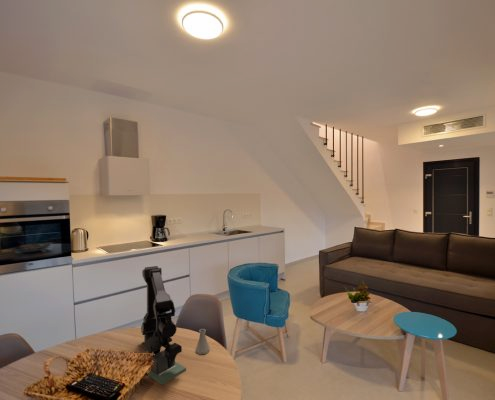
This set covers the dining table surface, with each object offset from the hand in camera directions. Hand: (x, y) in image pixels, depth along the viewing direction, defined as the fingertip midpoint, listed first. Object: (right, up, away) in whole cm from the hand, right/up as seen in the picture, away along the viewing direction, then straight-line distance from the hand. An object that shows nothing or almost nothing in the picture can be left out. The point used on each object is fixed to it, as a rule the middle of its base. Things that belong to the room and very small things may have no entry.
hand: (163, 364), depth 118 cm
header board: (0, -3, 0) cm, 2 cm away
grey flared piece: (+15, -3, +15) cm, 21 cm away
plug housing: (0, -2, 0) cm, 2 cm away
